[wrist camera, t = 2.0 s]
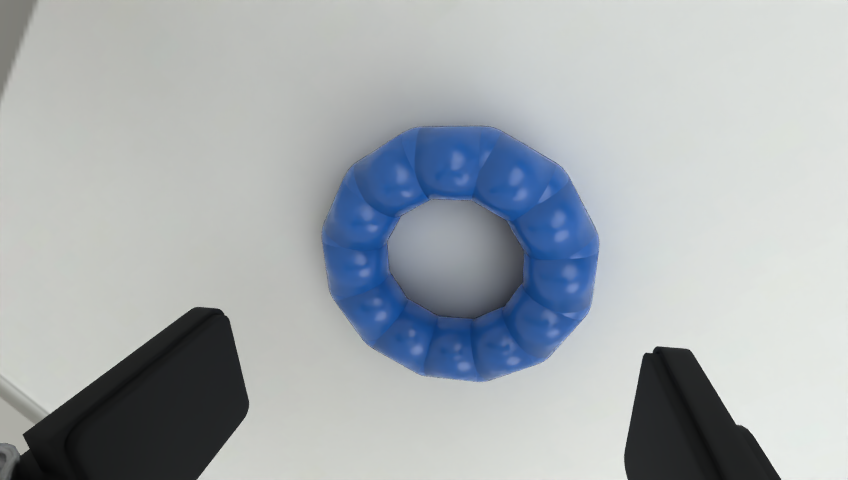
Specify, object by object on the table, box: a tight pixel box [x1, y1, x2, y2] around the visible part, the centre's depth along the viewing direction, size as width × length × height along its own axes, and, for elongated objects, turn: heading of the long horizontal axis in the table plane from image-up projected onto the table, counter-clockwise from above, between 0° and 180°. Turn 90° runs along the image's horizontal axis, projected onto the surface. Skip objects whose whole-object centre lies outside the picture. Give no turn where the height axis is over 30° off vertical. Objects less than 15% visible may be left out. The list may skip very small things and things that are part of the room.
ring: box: [322, 126, 599, 382], centre depth 14 cm, size 9×9×2 cm
